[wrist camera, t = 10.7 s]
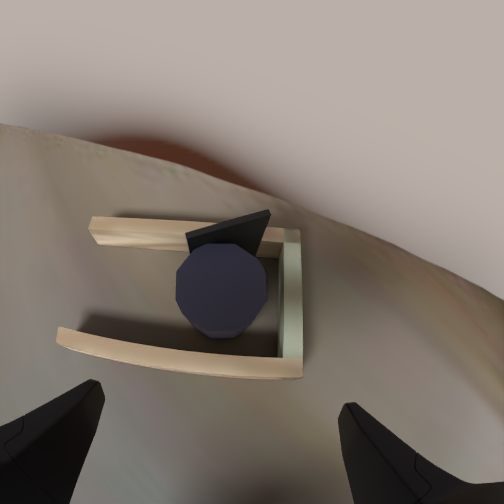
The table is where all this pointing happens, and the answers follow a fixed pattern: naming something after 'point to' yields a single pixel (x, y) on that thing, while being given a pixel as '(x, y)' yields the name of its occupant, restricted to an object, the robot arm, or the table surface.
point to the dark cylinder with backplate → (223, 276)
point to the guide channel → (280, 368)
